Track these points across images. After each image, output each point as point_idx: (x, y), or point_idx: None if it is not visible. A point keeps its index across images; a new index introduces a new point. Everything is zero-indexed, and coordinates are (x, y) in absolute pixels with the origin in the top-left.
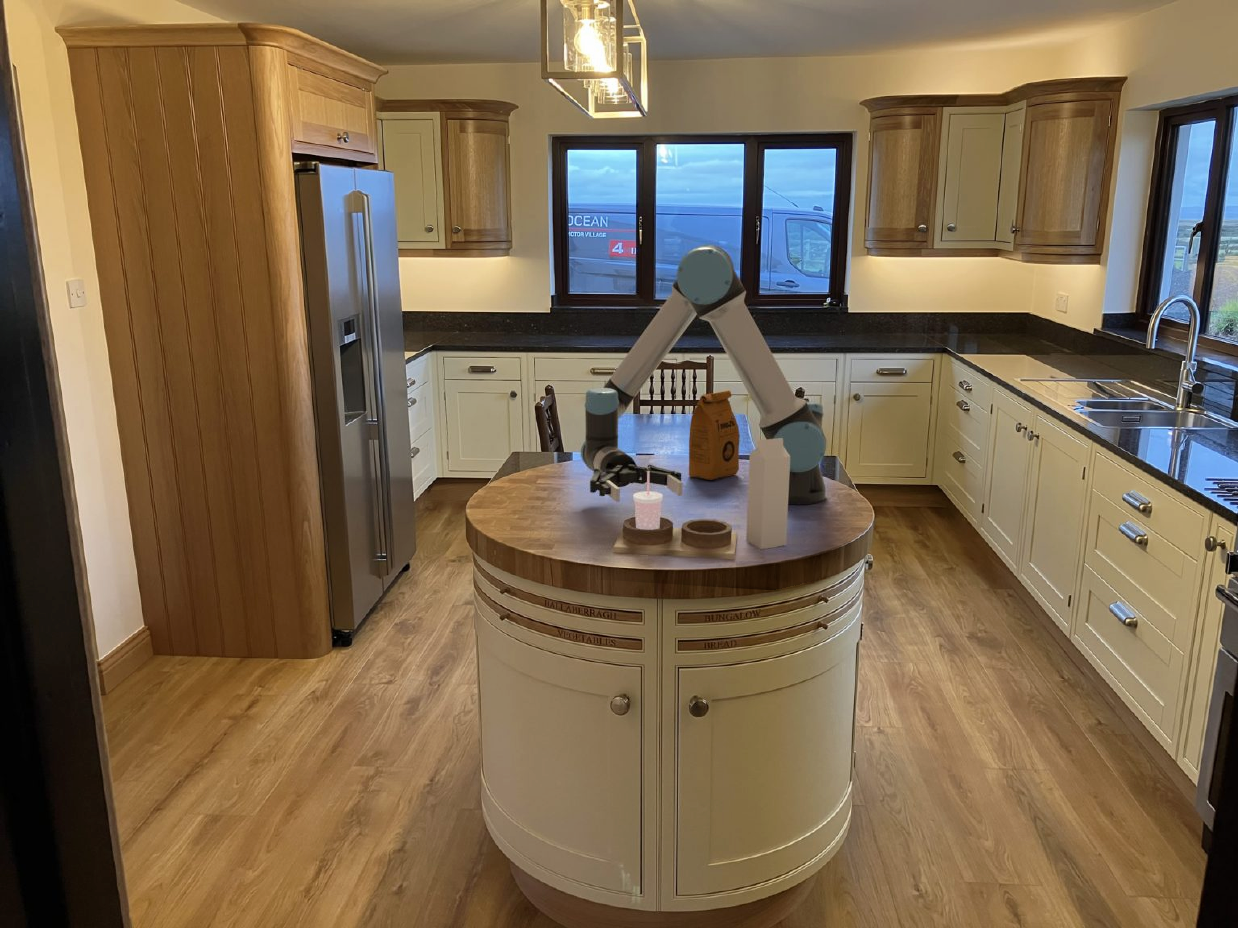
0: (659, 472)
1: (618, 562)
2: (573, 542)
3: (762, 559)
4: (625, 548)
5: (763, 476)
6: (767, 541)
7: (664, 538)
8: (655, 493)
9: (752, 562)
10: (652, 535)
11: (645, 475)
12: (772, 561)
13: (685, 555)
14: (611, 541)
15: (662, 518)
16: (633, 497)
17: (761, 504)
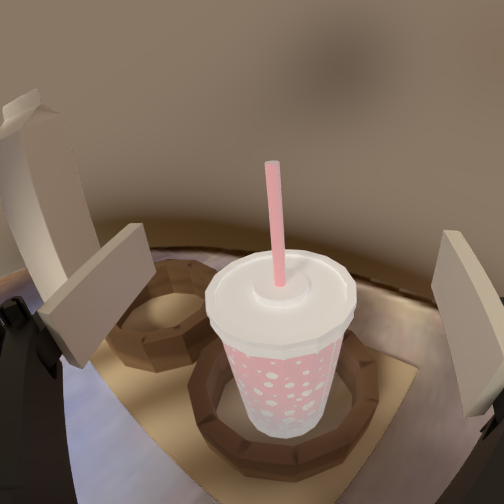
0: (3, 391)
1: (416, 324)
2: None
3: (155, 261)
4: (387, 358)
5: (71, 151)
6: None
7: None
8: (221, 306)
9: (178, 258)
10: None
11: (46, 495)
12: (152, 254)
13: None
14: (391, 465)
15: (198, 398)
16: (355, 304)
17: (85, 210)
